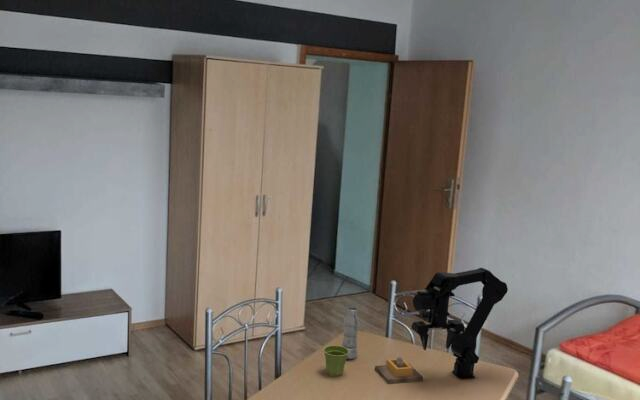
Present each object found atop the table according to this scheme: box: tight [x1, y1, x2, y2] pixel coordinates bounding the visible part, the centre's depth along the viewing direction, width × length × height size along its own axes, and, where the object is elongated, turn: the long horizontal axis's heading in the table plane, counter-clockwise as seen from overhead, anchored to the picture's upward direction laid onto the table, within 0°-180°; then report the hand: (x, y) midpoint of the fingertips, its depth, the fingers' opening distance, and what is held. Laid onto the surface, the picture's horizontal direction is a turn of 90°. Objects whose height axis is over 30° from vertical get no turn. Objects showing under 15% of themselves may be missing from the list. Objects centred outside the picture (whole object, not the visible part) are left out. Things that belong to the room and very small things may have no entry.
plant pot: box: [323, 345, 349, 377], centre depth 242 cm, size 9×9×9 cm
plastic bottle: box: [341, 306, 361, 360], centre depth 255 cm, size 6×7×20 cm
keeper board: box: [374, 356, 424, 385], centre depth 244 cm, size 14×12×7 cm
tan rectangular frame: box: [385, 358, 414, 377], centre depth 244 cm, size 7×9×3 cm
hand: (435, 349), depth 240 cm, fingers open, 9 cm apart
